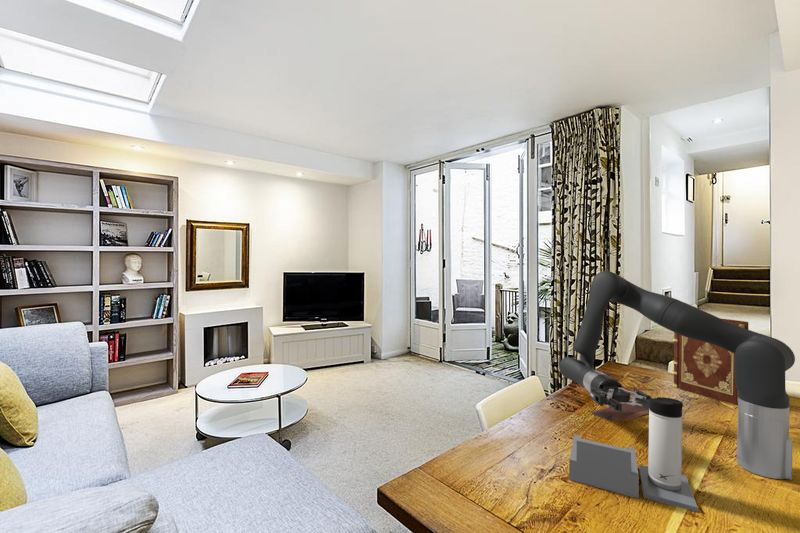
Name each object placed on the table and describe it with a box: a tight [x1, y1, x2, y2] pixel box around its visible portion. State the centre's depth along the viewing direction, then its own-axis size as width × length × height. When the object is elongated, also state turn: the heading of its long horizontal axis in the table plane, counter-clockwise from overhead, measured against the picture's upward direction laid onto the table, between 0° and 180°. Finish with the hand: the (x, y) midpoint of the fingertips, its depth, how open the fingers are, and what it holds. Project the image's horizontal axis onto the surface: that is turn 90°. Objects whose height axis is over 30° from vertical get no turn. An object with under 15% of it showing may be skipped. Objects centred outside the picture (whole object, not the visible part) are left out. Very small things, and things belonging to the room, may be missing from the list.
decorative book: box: [672, 317, 750, 406], centre depth 143 cm, size 22×8×30 cm, turn 25°
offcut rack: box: [568, 434, 640, 500], centre depth 90 cm, size 14×14×10 cm
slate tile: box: [638, 464, 699, 513], centre depth 84 cm, size 10×13×1 cm
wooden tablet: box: [591, 400, 649, 423], centre depth 127 cm, size 26×2×10 cm
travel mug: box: [647, 396, 684, 491], centre depth 84 cm, size 6×7×20 cm
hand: (636, 408), depth 94 cm, fingers open, 8 cm apart
